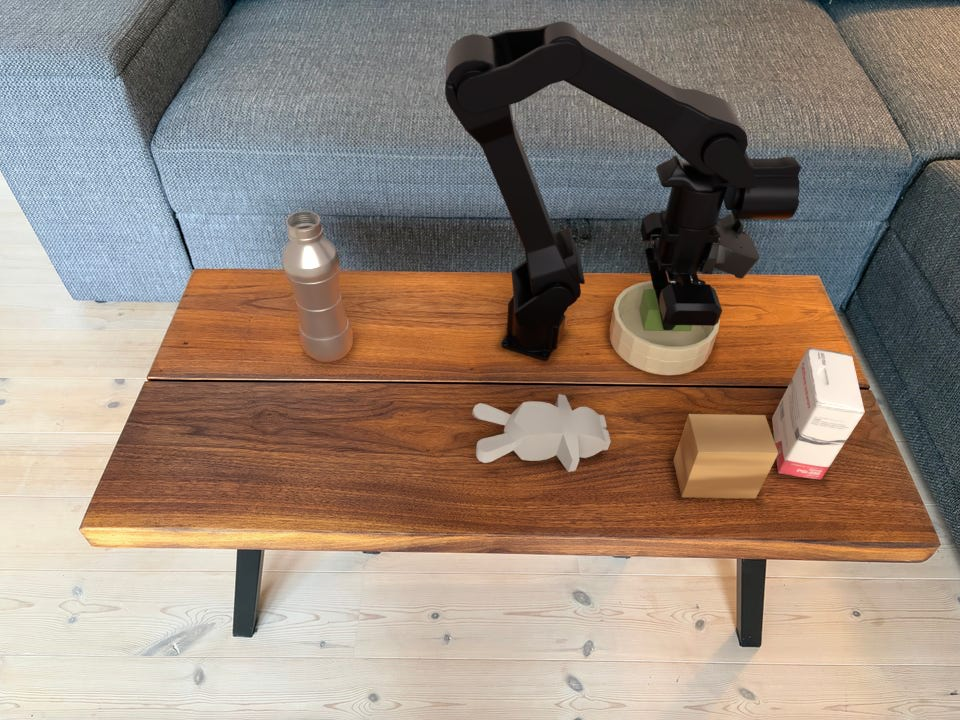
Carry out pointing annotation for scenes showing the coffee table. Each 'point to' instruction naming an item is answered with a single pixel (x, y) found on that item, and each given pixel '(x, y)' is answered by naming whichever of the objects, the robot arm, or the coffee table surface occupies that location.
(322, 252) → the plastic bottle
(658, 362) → the bowl
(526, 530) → the coffee table surface
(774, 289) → the coffee table surface
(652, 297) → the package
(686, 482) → the block
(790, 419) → the ink box
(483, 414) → the bunny figurine
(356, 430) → the coffee table surface
